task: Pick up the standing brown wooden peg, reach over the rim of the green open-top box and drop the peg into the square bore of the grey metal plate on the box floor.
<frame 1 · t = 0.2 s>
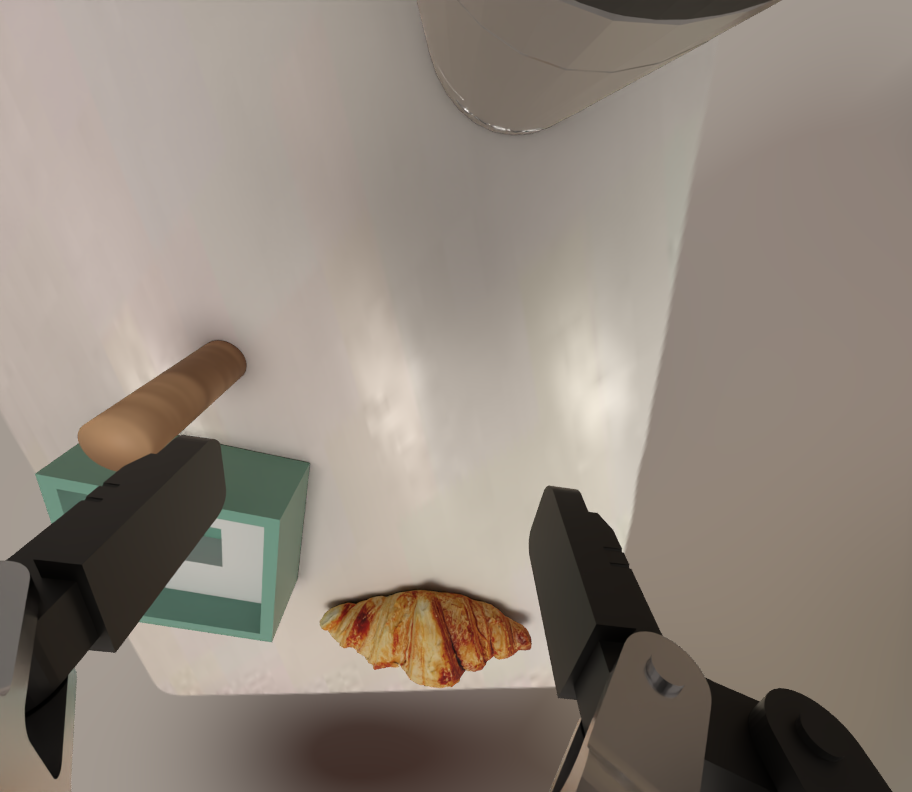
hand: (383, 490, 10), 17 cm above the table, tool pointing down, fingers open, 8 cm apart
croissant: (427, 606, 41), on the table
peg: (224, 360, 27), on the table
box: (215, 510, 34), on the table
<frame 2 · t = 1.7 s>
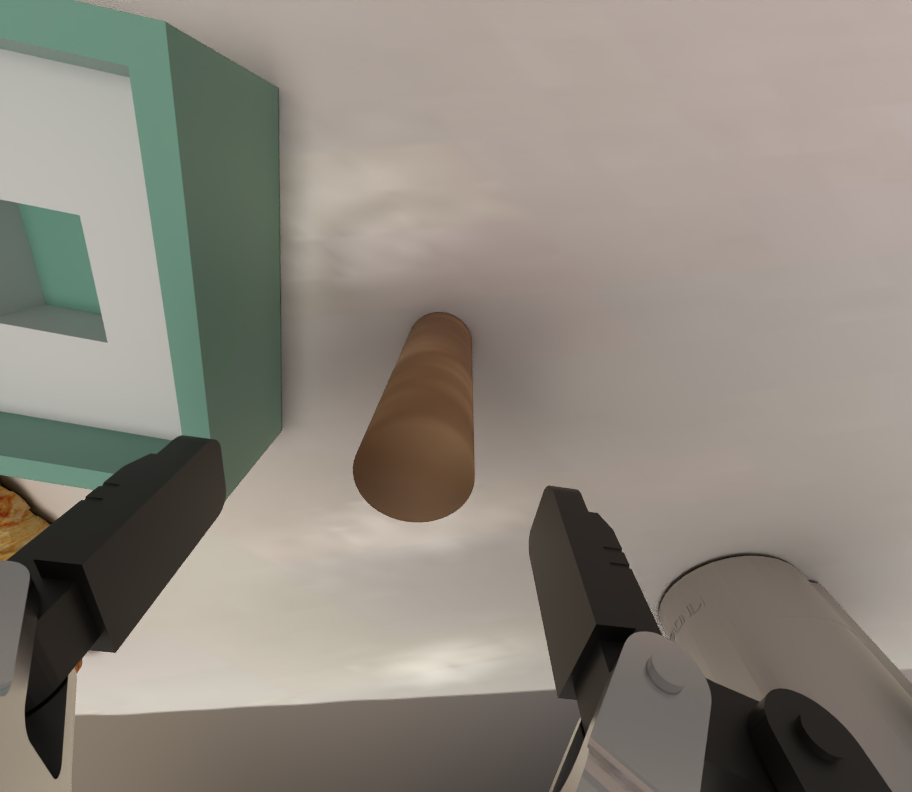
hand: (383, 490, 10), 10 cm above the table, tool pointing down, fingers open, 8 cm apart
croissant: (36, 551, 26), on the table
peg: (440, 343, 19), on the table
box: (108, 257, 17), on the table
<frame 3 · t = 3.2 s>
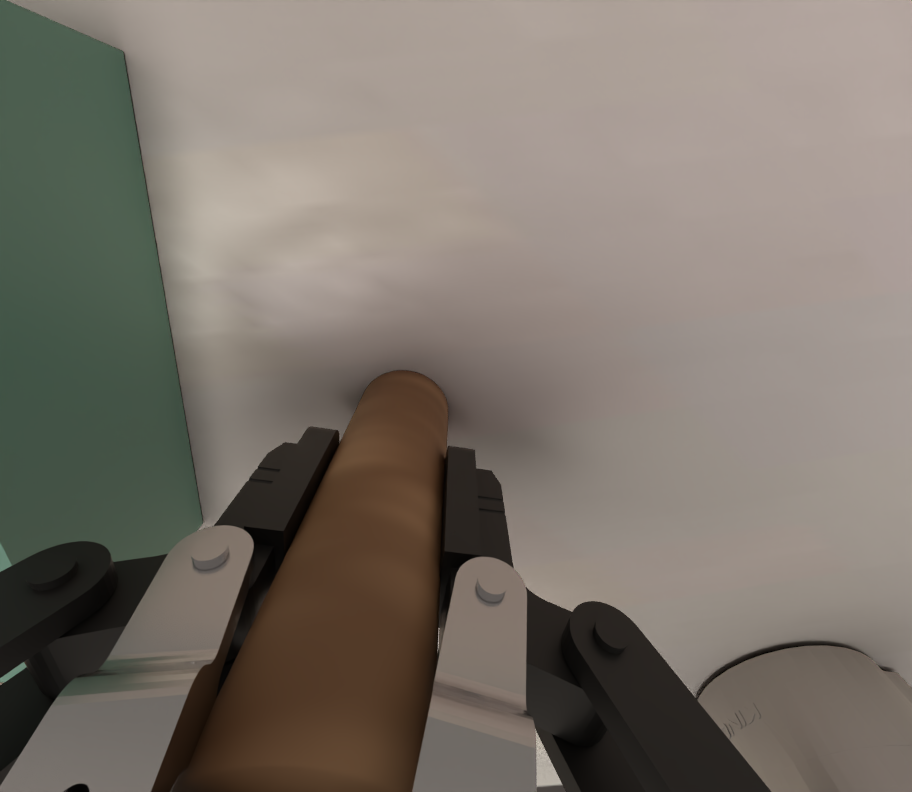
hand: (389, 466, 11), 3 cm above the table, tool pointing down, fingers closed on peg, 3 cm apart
peg: (404, 410, 14), on the table, touching gripper
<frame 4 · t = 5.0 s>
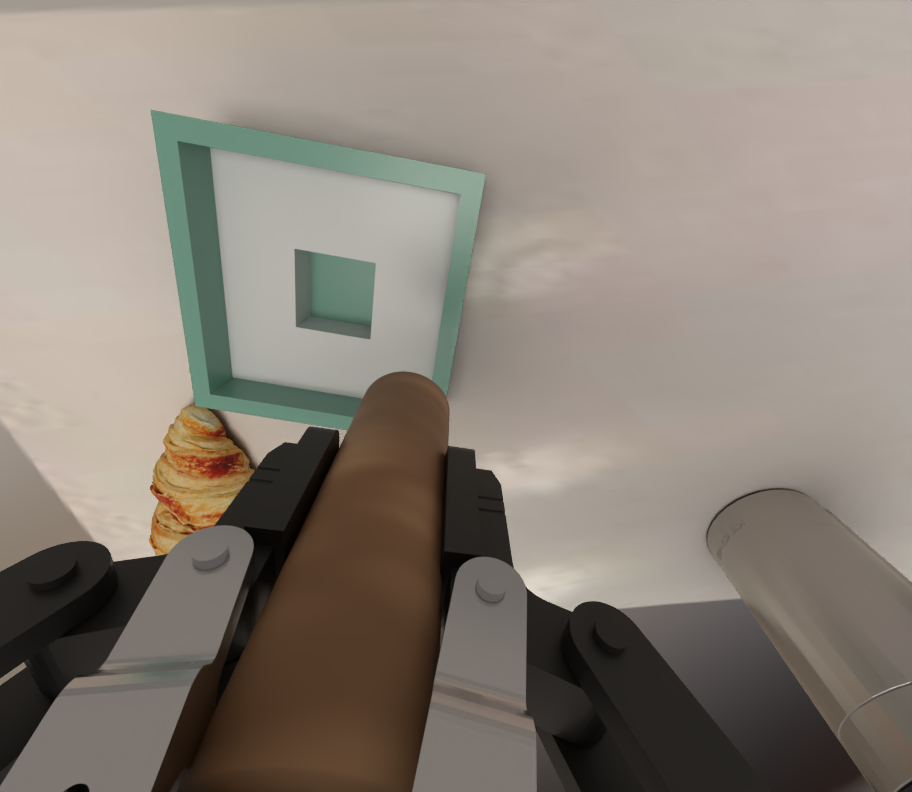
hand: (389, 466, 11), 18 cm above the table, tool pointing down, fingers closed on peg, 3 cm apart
croissant: (237, 497, 36), on the table
peg: (405, 411, 14), point 15 cm above the table, touching gripper
box: (350, 284, 26), on the table
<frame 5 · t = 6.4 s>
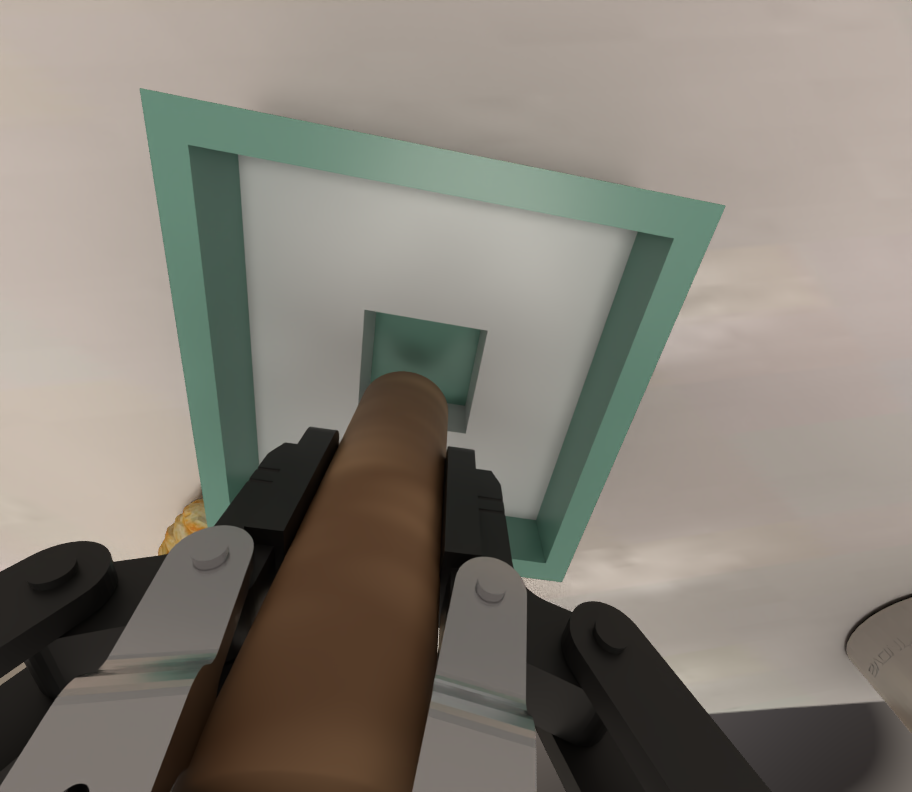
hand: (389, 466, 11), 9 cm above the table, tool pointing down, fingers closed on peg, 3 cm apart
croissant: (253, 598, 28), on the table
peg: (404, 411, 13), point 6 cm above the table, touching gripper
box: (426, 346, 19), on the table
when the fingers open (6 cm above the table, at t = 7.3 s): peg drops 1 cm, resting on box.
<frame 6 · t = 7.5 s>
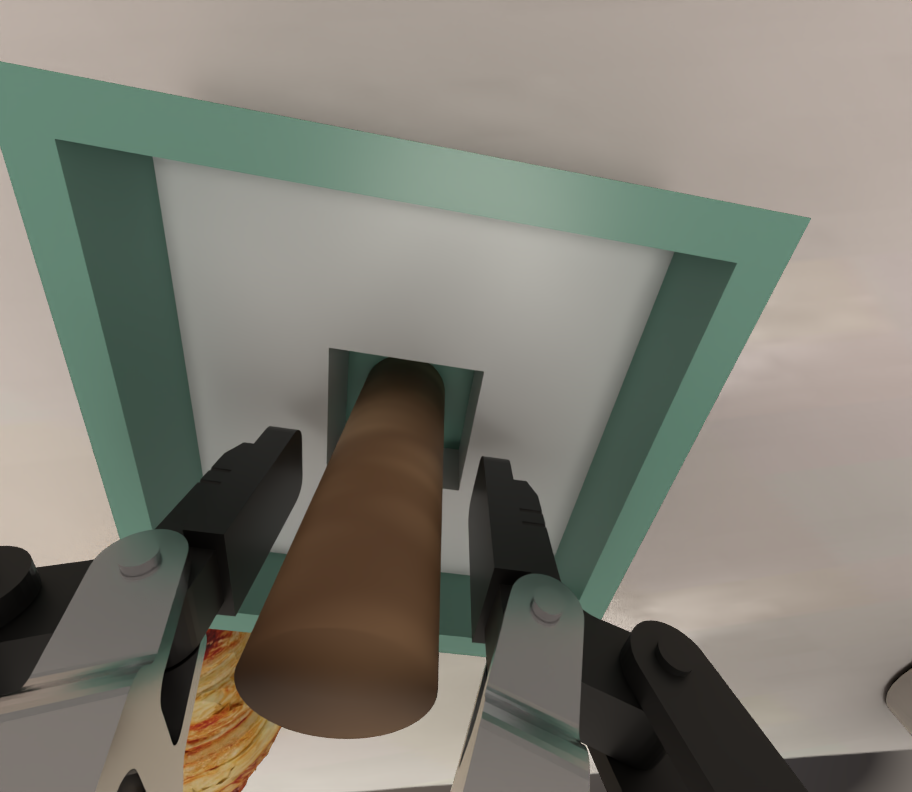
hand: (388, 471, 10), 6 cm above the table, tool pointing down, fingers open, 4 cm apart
croissant: (223, 652, 25), on the table
peg: (405, 392, 15), point 1 cm above the table, touching box
box: (411, 380, 16), on the table
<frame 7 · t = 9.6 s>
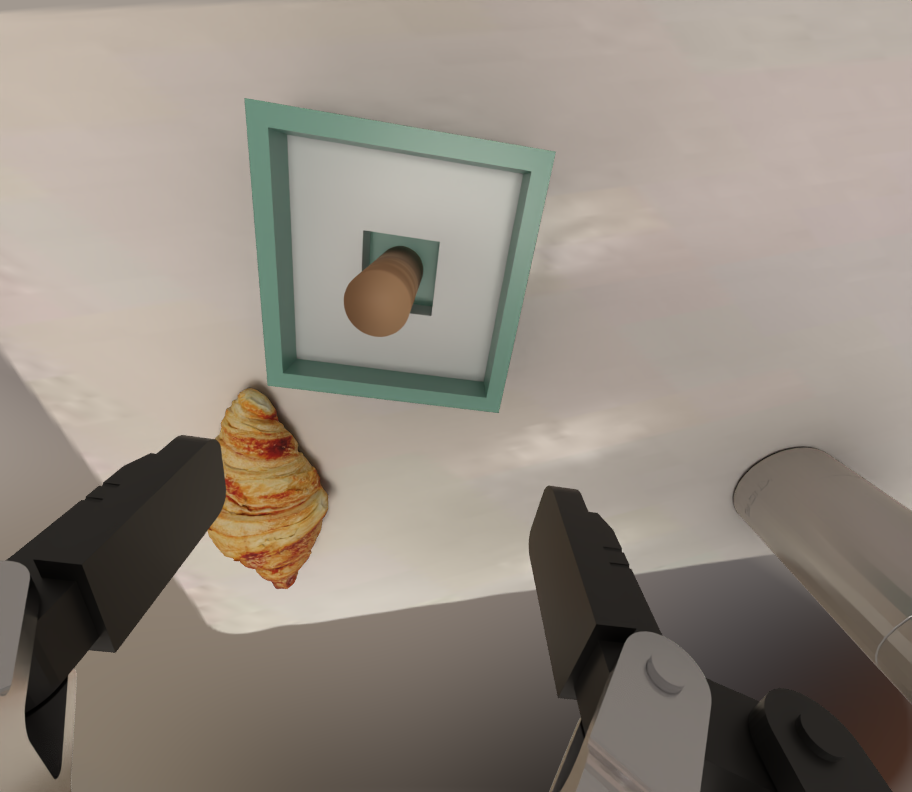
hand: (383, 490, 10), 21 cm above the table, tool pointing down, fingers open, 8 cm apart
croissant: (281, 482, 37), on the table
peg: (401, 269, 27), point 1 cm above the table, touching box
box: (404, 266, 28), on the table
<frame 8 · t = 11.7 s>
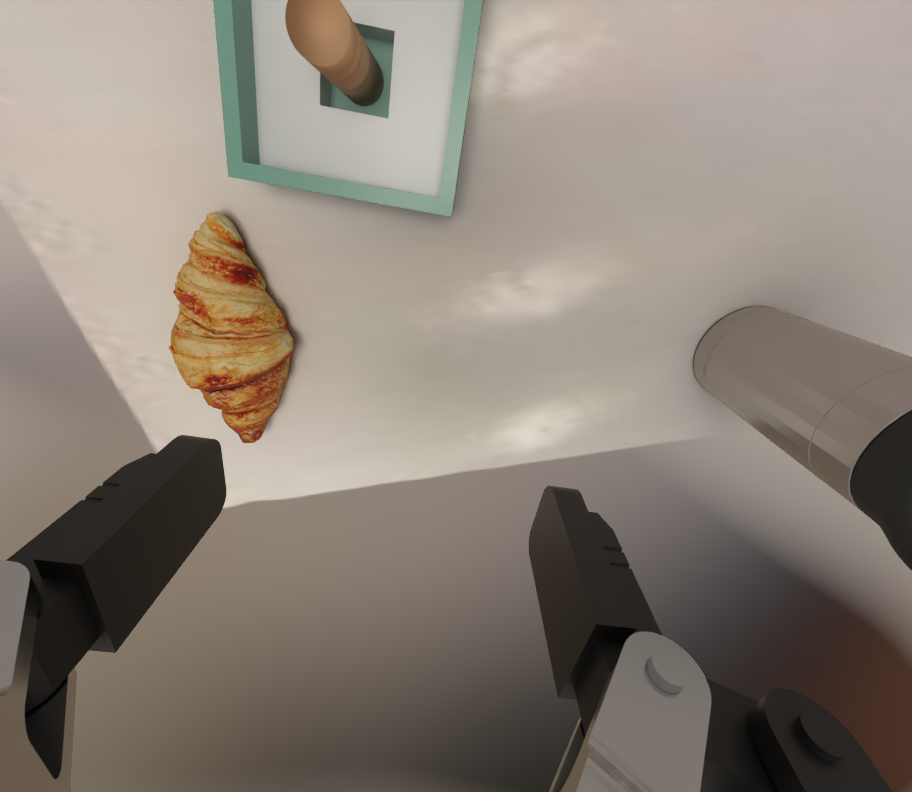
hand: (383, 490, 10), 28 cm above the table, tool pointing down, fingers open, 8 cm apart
croissant: (250, 332, 38), on the table
peg: (362, 80, 28), point 1 cm above the table, touching box
box: (367, 83, 29), on the table
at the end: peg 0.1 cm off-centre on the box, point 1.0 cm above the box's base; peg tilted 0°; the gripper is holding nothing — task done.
